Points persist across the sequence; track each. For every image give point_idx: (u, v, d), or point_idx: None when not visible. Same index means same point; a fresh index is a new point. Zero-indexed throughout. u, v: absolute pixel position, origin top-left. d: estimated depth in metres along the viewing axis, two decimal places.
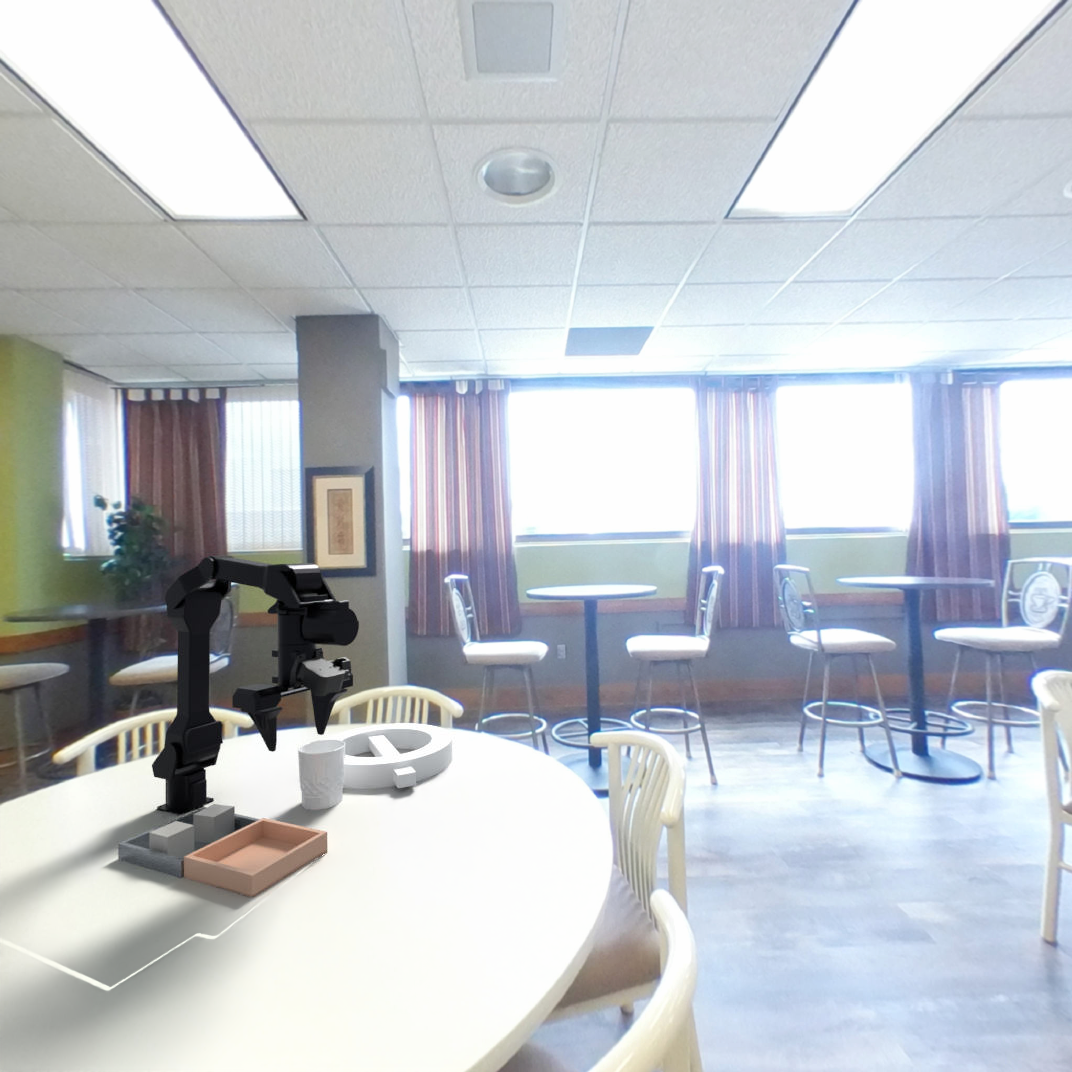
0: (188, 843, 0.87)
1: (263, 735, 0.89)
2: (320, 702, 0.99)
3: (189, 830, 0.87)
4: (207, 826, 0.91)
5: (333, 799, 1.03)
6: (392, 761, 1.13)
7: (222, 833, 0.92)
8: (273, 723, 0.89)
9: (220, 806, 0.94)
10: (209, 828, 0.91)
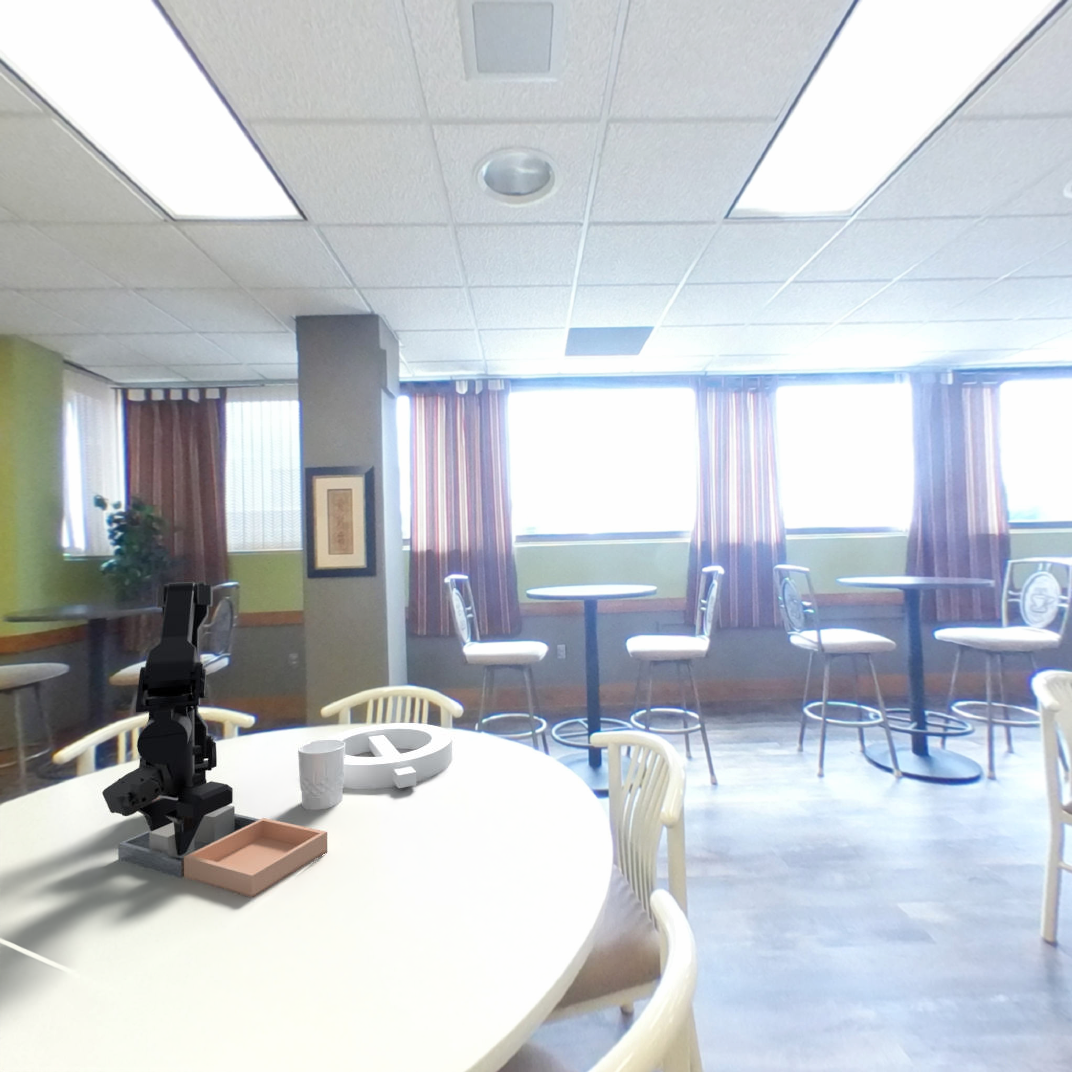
0: None
1: None
2: None
3: None
4: (207, 826, 0.91)
5: (333, 799, 1.03)
6: (392, 761, 1.13)
7: (222, 833, 0.92)
8: (149, 820, 0.87)
9: None
10: (209, 828, 0.91)
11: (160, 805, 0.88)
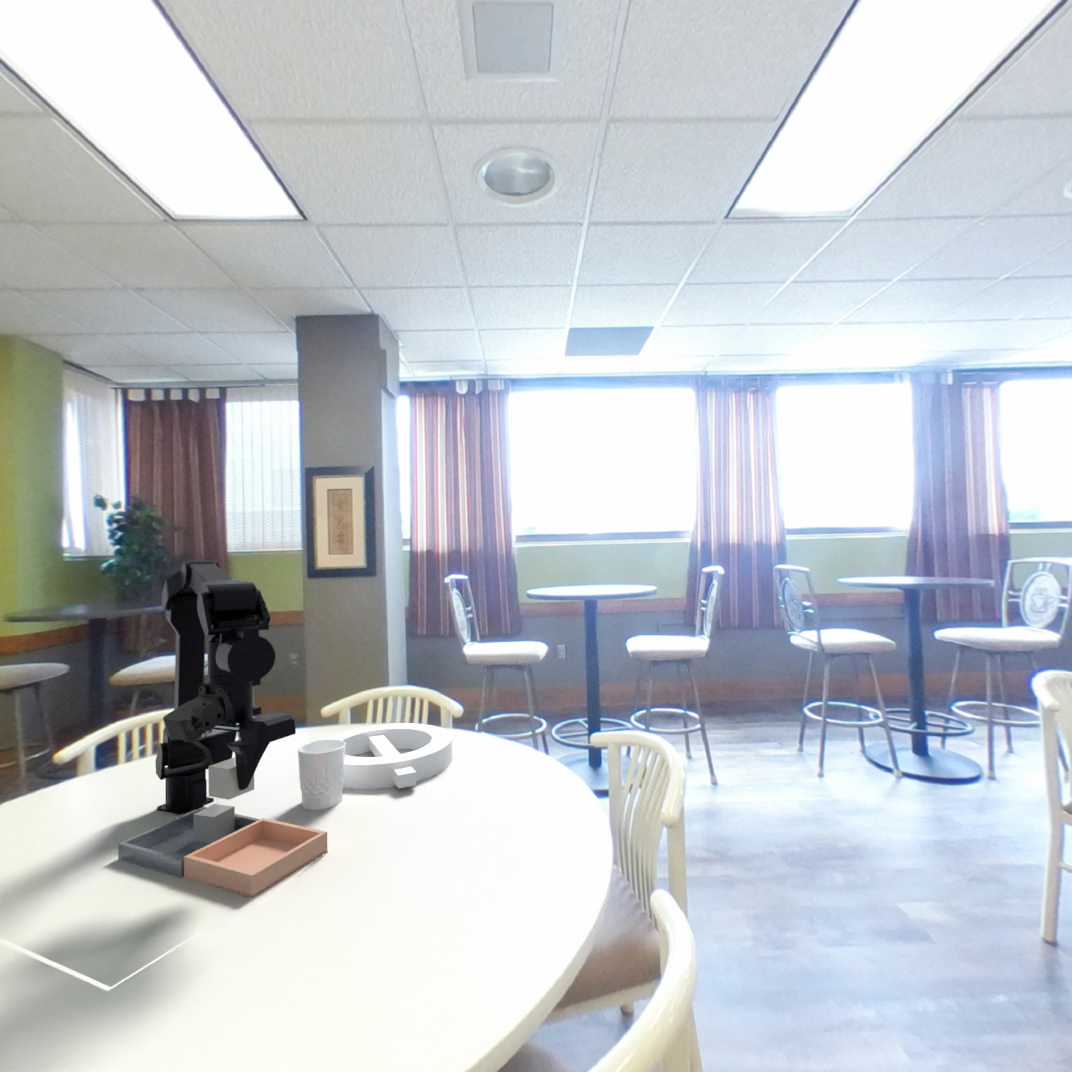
0: None
1: None
2: None
3: None
4: (207, 826, 0.91)
5: (333, 799, 1.03)
6: (392, 761, 1.13)
7: (222, 833, 0.92)
8: (208, 755, 0.83)
9: (220, 806, 0.94)
10: (209, 828, 0.91)
11: (219, 739, 0.84)
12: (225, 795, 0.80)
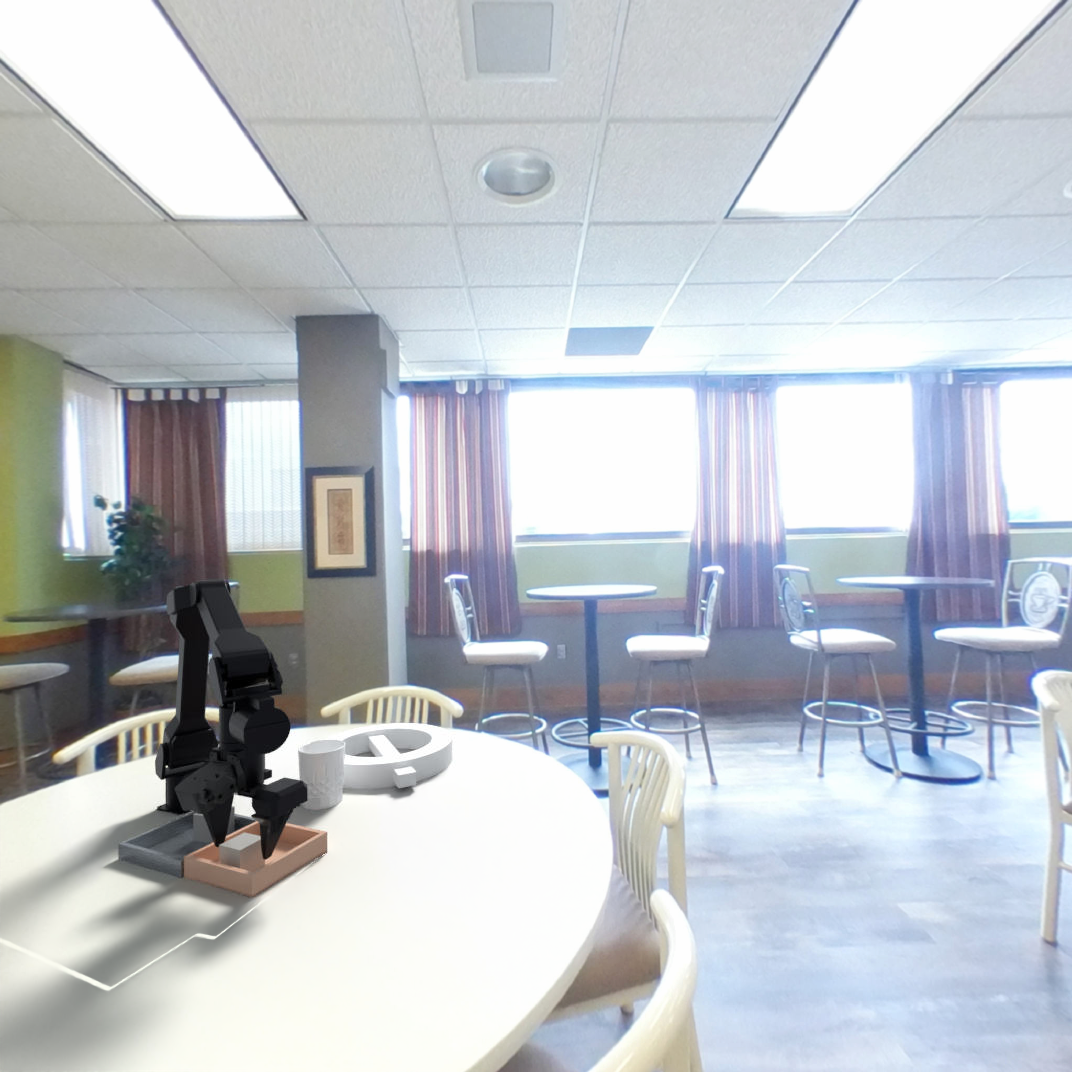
0: (259, 856, 0.82)
1: None
2: None
3: (260, 842, 0.82)
4: (207, 826, 0.91)
5: (333, 799, 1.03)
6: (392, 761, 1.13)
7: None
8: (207, 816, 0.83)
9: None
10: None
11: None
12: None
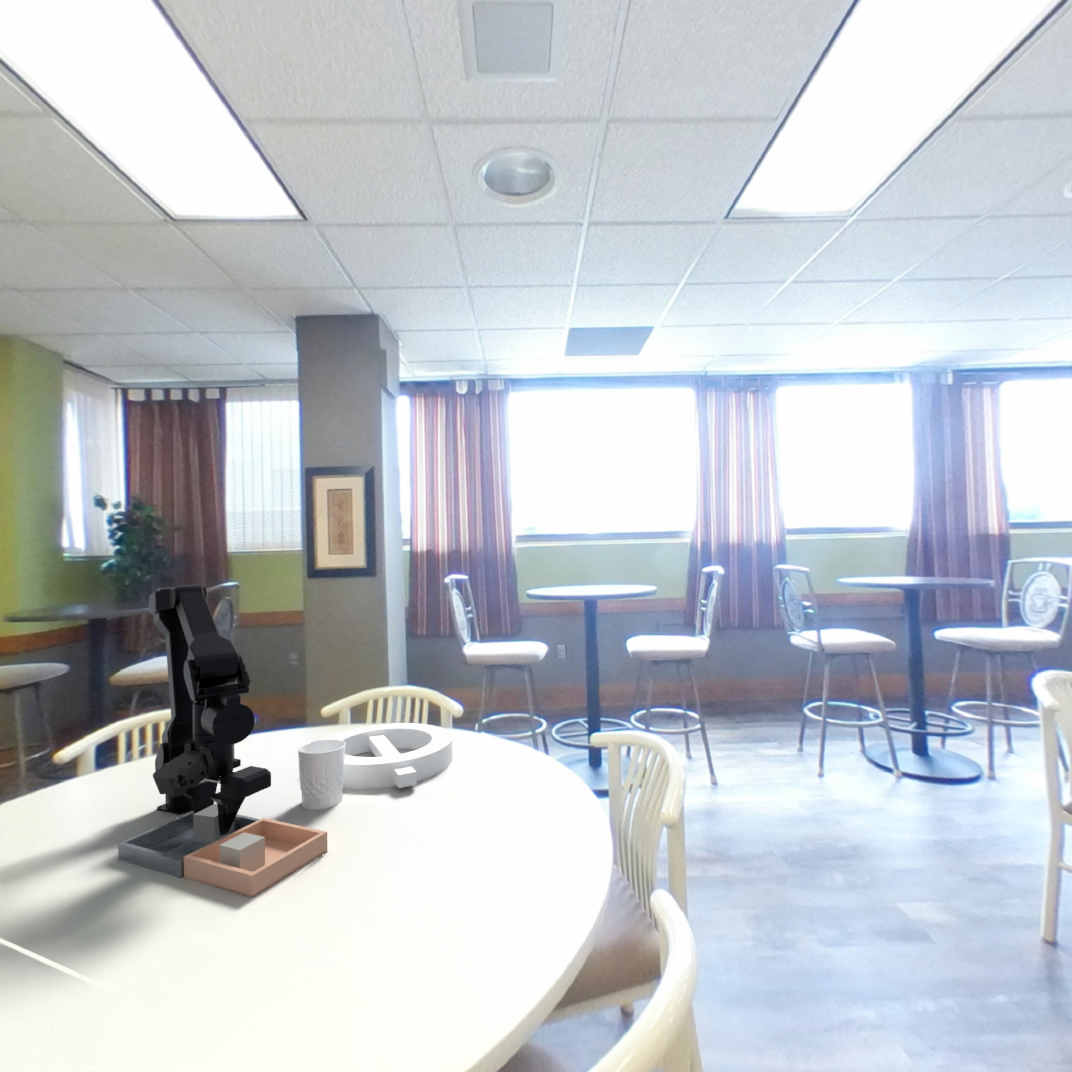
0: (259, 856, 0.82)
1: None
2: None
3: (260, 842, 0.82)
4: (207, 826, 0.91)
5: (333, 799, 1.03)
6: (393, 761, 1.13)
7: None
8: (192, 802, 0.93)
9: None
10: (209, 828, 0.91)
11: (202, 788, 0.94)
12: None
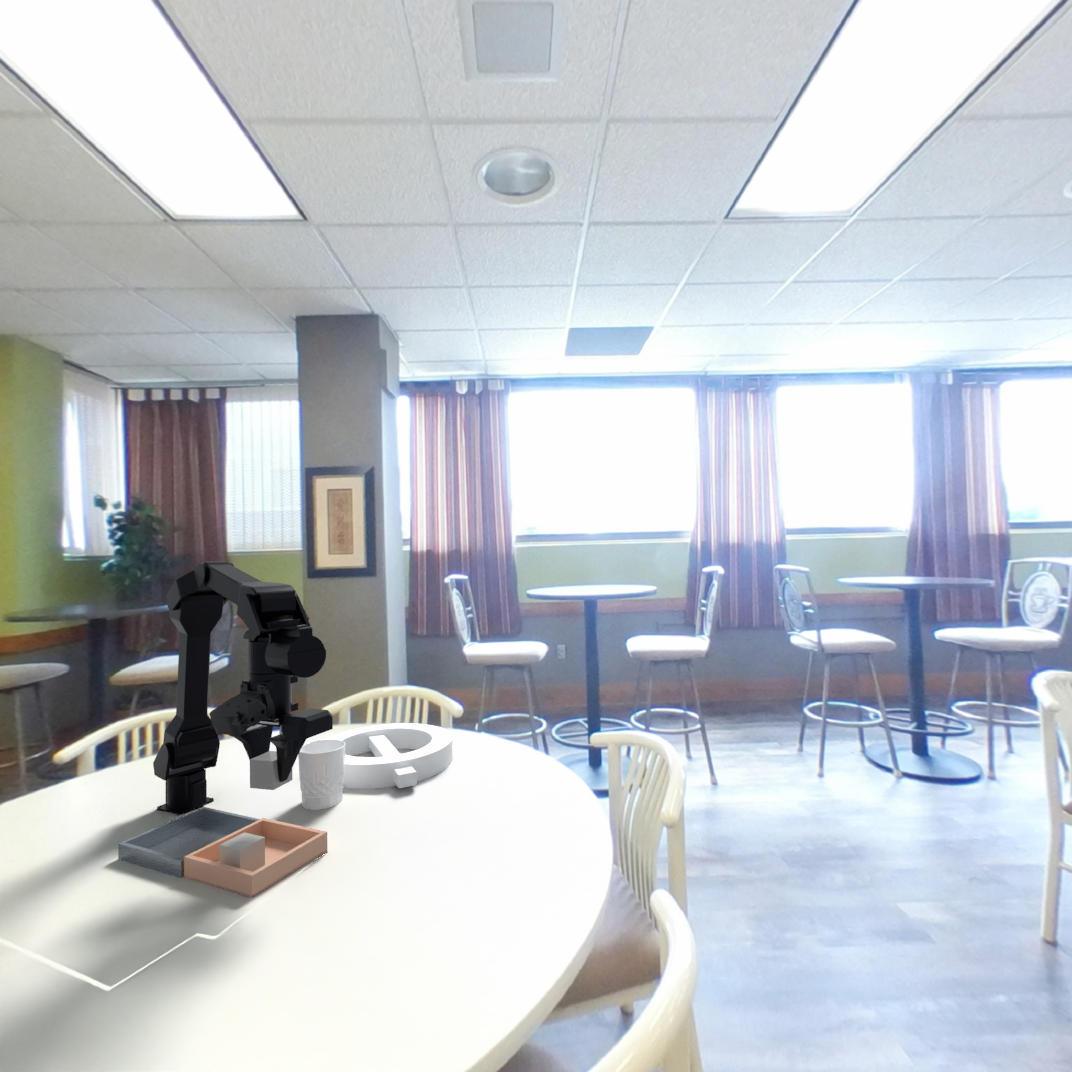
0: (259, 856, 0.82)
1: None
2: None
3: (260, 842, 0.82)
4: (265, 771, 0.85)
5: (333, 799, 1.03)
6: (393, 761, 1.13)
7: None
8: (248, 748, 0.87)
9: (276, 752, 0.88)
10: (267, 774, 0.85)
11: (258, 734, 0.88)
12: None
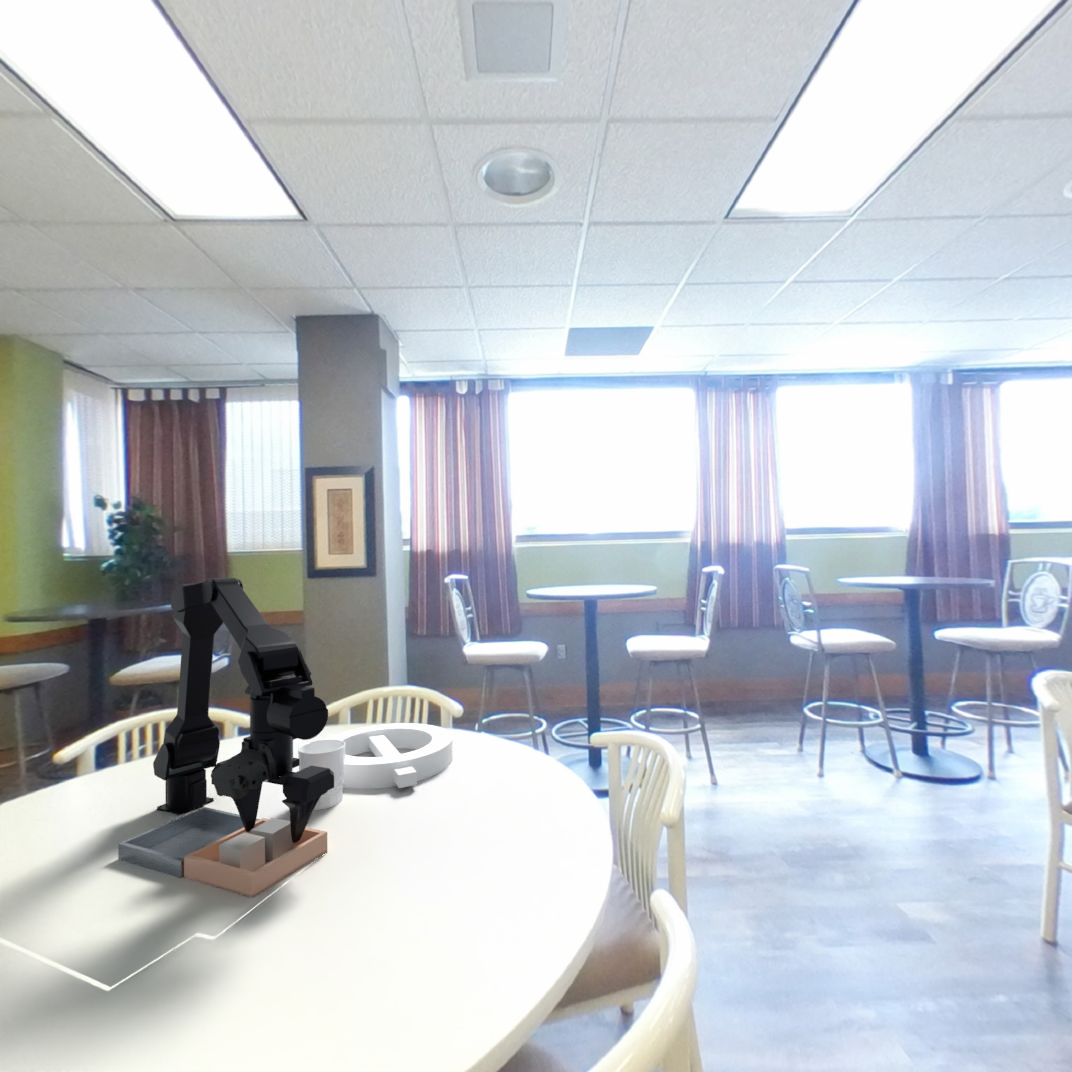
0: (259, 856, 0.82)
1: None
2: None
3: (260, 842, 0.82)
4: (265, 843, 0.84)
5: (333, 799, 1.03)
6: (393, 761, 1.13)
7: (281, 851, 0.85)
8: (238, 802, 0.88)
9: (278, 821, 0.88)
10: (267, 846, 0.84)
11: None
12: None
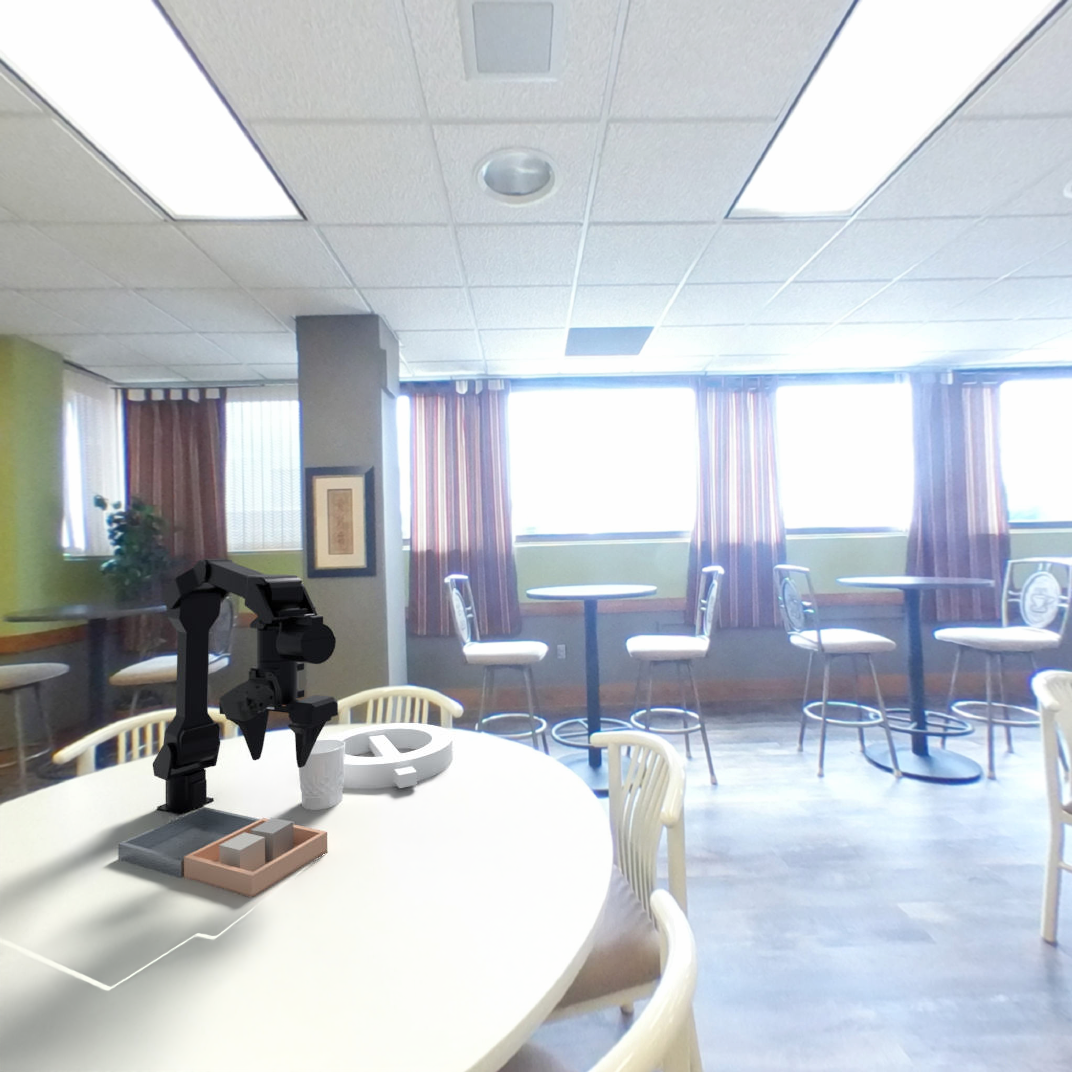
0: (259, 856, 0.82)
1: None
2: None
3: (260, 842, 0.82)
4: (265, 843, 0.84)
5: (333, 799, 1.03)
6: (393, 761, 1.13)
7: (281, 851, 0.85)
8: (245, 731, 0.91)
9: (278, 821, 0.88)
10: (267, 846, 0.84)
11: (254, 718, 0.92)
12: None
